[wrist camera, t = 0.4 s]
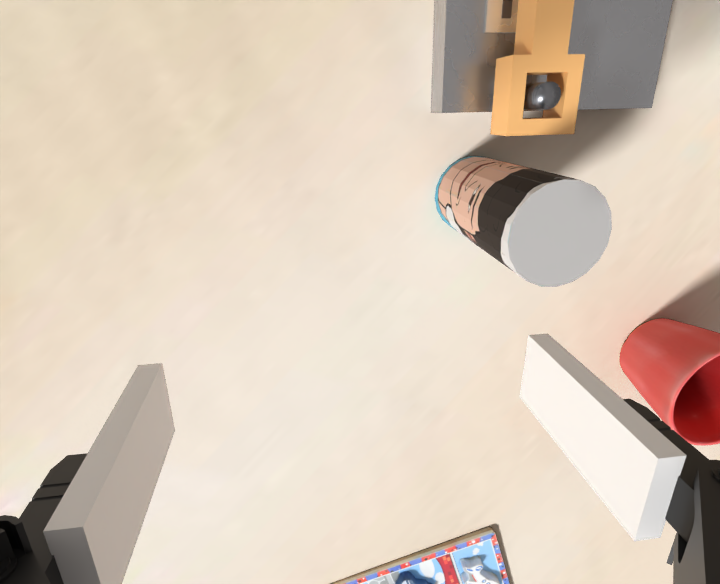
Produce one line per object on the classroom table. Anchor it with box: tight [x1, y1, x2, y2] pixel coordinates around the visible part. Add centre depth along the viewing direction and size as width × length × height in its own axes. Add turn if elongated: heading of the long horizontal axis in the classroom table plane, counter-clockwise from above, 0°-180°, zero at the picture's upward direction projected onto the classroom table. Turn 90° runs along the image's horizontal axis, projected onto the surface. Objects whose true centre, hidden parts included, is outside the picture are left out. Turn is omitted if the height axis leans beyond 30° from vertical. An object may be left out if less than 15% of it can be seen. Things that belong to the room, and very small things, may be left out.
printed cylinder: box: [435, 156, 612, 287], centre depth 35 cm, size 7×7×15 cm
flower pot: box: [620, 318, 720, 445], centre depth 47 cm, size 11×11×10 cm
